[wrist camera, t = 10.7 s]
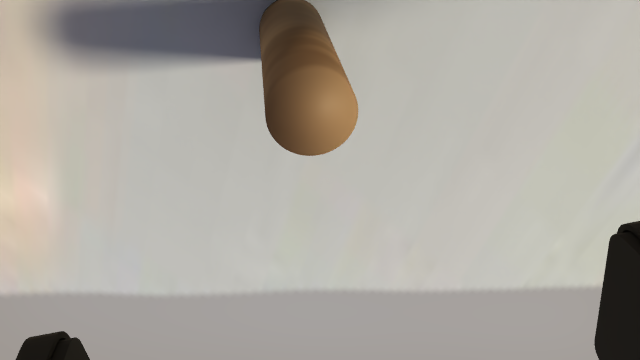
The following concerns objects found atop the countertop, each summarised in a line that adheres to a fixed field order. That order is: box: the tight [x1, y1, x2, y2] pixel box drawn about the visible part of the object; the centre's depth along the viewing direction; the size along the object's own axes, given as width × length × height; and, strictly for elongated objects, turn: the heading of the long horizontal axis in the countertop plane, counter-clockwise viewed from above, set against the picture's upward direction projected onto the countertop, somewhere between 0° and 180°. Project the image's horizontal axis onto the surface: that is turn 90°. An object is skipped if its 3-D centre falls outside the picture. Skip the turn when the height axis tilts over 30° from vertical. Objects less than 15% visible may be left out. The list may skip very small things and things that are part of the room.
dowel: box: [259, 0, 358, 156], centre depth 23 cm, size 3×3×10 cm
